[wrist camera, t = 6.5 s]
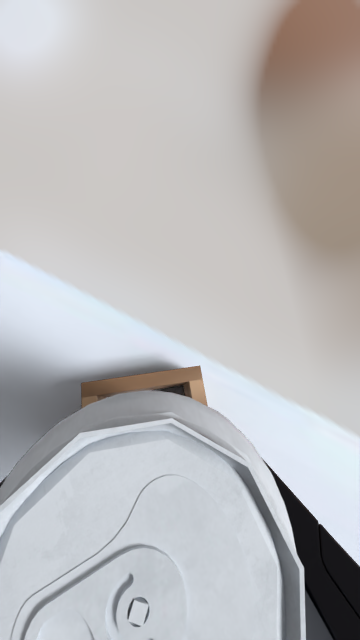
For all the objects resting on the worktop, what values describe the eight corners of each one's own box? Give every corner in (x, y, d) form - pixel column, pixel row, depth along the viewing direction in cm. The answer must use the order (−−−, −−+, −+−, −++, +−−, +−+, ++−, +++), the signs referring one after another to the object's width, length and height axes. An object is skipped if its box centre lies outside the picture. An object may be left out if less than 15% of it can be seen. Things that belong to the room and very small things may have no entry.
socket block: (211, 483, 18) (224, 500, 14) (97, 509, 16) (83, 535, 13) (192, 372, 20) (200, 365, 17) (93, 386, 19) (81, 382, 16)
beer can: (202, 466, 14) (441, 733, 2) (126, 513, 12) (-117, 1513, 1) (168, 390, 15) (218, 334, 4) (96, 426, 14) (-152, 504, 2)
